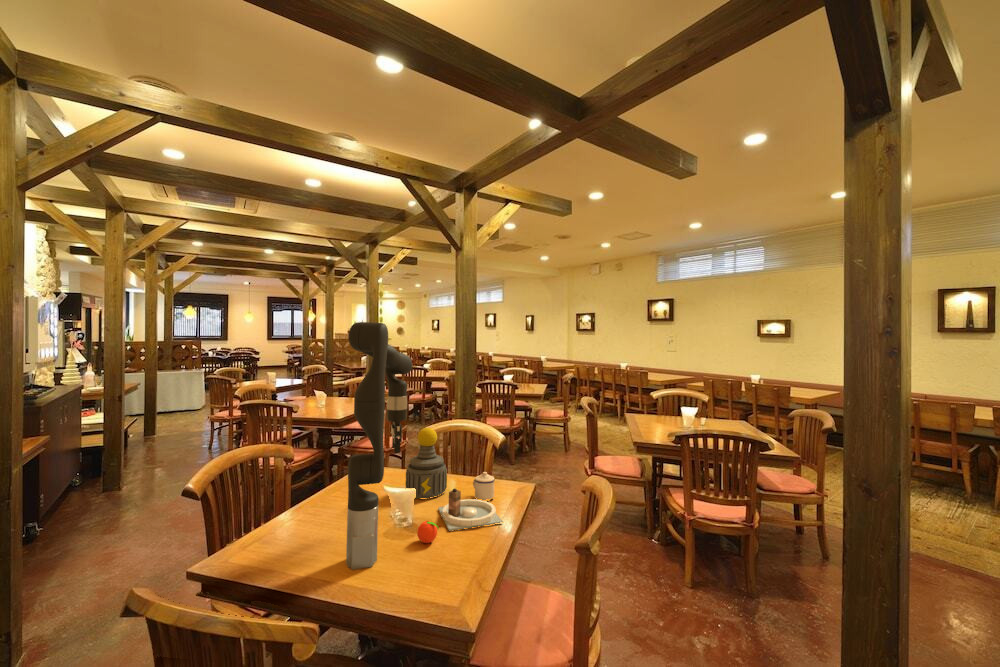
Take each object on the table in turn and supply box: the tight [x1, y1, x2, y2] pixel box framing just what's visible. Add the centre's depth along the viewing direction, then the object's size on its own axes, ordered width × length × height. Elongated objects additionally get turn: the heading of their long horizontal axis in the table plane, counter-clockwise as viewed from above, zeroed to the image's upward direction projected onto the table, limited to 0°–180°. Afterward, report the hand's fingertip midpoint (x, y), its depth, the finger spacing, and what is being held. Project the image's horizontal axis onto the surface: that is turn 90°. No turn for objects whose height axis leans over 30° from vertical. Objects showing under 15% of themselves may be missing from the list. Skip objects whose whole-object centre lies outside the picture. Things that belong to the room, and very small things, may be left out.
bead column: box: [448, 488, 462, 517], centre depth 159 cm, size 3×3×11 cm
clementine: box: [416, 520, 439, 544], centre depth 139 cm, size 8×7×7 cm
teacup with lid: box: [472, 471, 495, 500], centre depth 182 cm, size 12×9×12 cm
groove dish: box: [437, 498, 504, 532], centre depth 161 cm, size 21×21×3 cm
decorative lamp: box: [404, 427, 448, 498], centre depth 187 cm, size 19×19×30 cm
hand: (396, 450), depth 154 cm, fingers open, 8 cm apart
